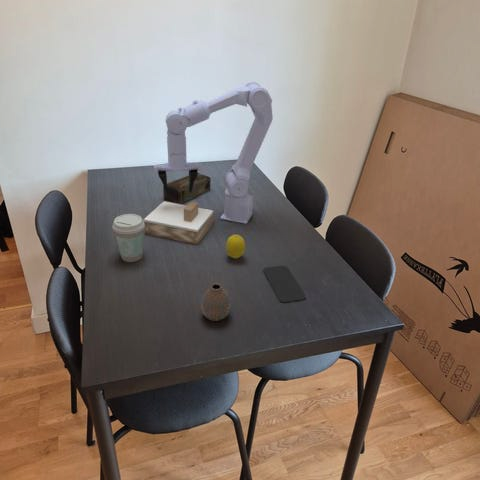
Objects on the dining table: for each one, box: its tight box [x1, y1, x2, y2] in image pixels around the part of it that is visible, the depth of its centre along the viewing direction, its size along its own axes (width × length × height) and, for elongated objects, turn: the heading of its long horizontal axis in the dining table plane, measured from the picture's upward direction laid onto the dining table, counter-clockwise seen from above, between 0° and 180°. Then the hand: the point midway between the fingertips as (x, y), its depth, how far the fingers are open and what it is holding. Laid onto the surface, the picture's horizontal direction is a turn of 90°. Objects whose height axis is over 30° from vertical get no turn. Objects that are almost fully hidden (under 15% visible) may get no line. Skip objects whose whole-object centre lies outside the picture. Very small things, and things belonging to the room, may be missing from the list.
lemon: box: [225, 233, 246, 259], centre depth 112 cm, size 6×6×8 cm
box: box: [143, 213, 214, 245], centre depth 126 cm, size 18×14×4 cm
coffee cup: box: [112, 213, 145, 263], centre depth 109 cm, size 8×9×12 cm
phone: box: [262, 265, 307, 304], centre depth 105 cm, size 7×1×15 cm
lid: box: [143, 200, 214, 232], centre depth 124 cm, size 18×14×5 cm
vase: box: [200, 283, 231, 322], centre depth 91 cm, size 7×7×9 cm
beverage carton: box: [162, 172, 211, 205], centre depth 148 cm, size 8×19×7 cm, turn 144°
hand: (178, 191), depth 128 cm, fingers open, 7 cm apart
